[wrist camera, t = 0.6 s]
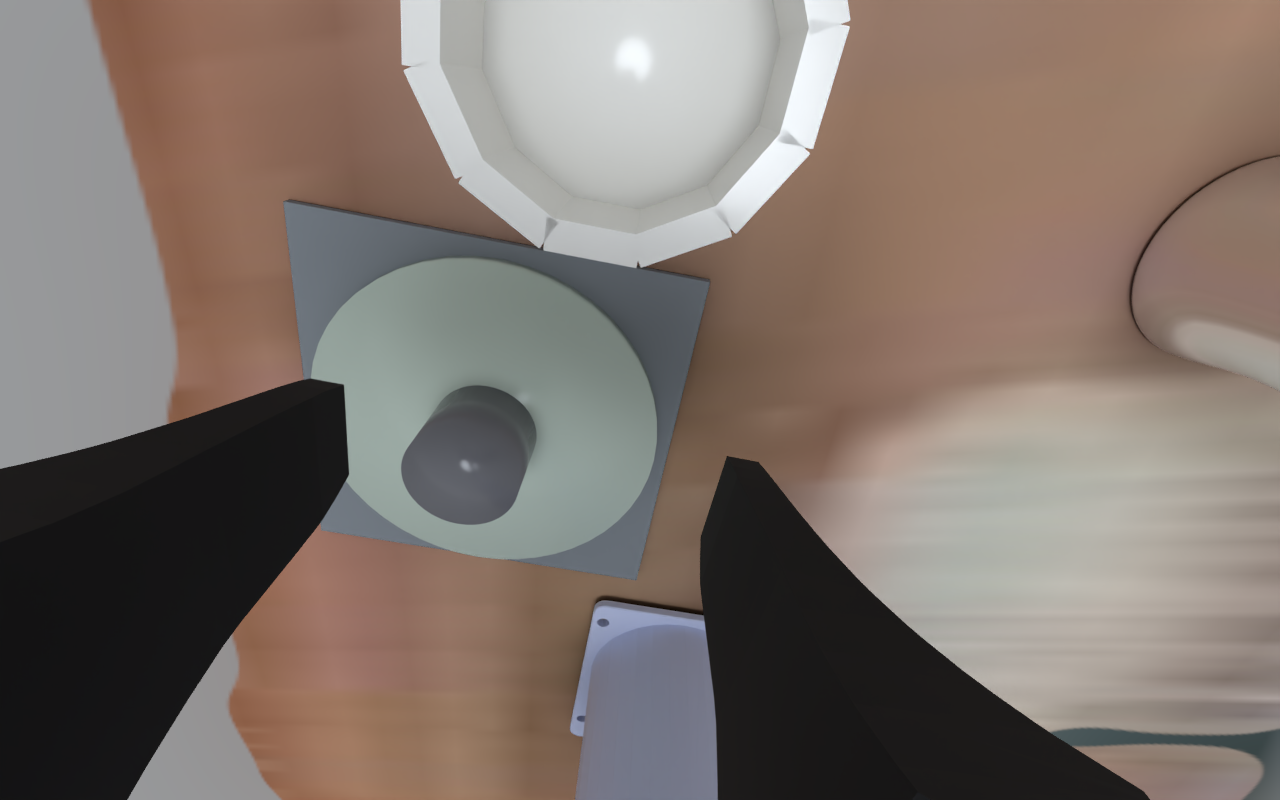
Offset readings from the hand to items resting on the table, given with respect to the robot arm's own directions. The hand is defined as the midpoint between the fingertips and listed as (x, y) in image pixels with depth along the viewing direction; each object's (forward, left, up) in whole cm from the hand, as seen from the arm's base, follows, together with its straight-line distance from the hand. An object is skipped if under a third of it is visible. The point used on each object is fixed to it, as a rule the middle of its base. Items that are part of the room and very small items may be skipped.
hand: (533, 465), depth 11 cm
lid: (-5, +3, -9) cm, 10 cm away
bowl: (+7, 0, -9) cm, 12 cm away
